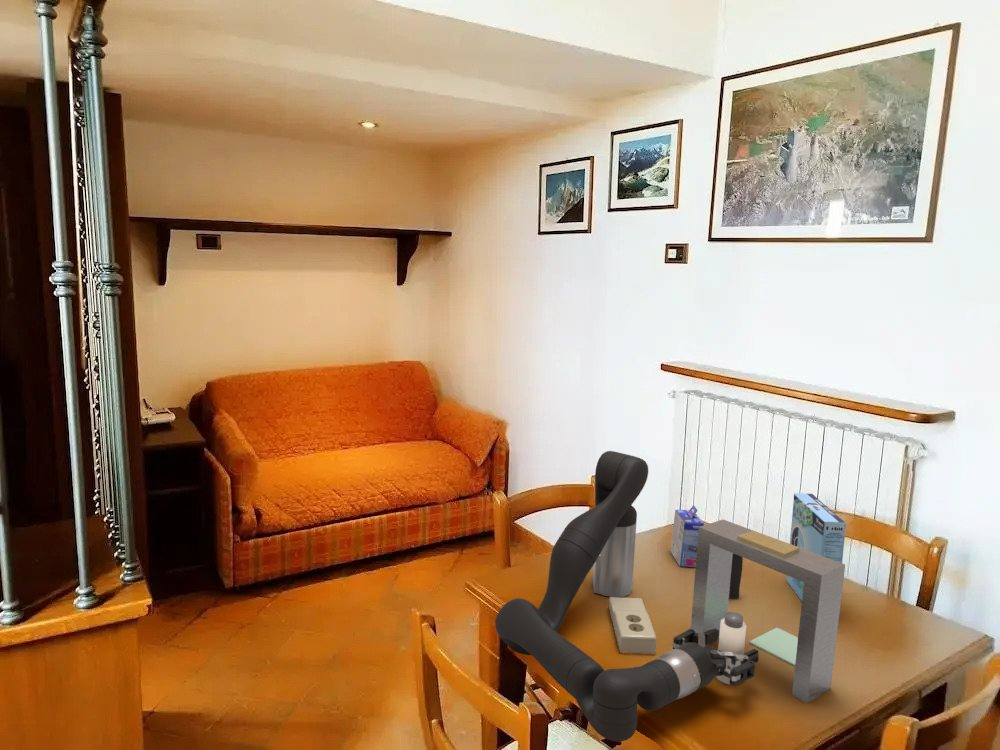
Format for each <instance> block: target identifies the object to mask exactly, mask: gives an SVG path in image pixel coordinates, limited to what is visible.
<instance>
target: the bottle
mask: <svg viewBox="0 0 1000 750" xmlns="http://www.w3.org/2000/svg"><path fill="white" fill-rule="evenodd" d="M746 633H747V624H746V622H744V616H743V615H742V614H740V613H738V612H734V611H728V612H727V613H726V614H725V618H723V619H721V622H720V633H719V637H718V646H717V650H720V651H722V652H733V653H734V654H735V655H743V654H744V653H745V645H746ZM729 659H730V658H726V667H727V666H728V665H729ZM740 664H741V661H736V664H735V665H740ZM715 678H716V679H717V680H718V681H720V682H722V683H723V684H726V685H731V684H730V683H729V681H730V679H729V678H727V677H726V676H724V675H723V676H716V677H715ZM731 686H732V685H731Z"/></svg>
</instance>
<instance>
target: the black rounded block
mask: <svg viewBox="0 0 1000 750" xmlns="http://www.w3.org/2000/svg"><path fill="white" fill-rule="evenodd" d="M743 558H744V557H741V556H739V555H736V554H734V553H733V556H732V567H731V579H730V590H729V599H739V597H740V587H741V581H742V572H743V560H744V559H743Z"/></svg>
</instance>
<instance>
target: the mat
mask: <svg viewBox="0 0 1000 750" xmlns="http://www.w3.org/2000/svg"><path fill="white" fill-rule="evenodd" d="M748 643H749V644H751V645H752V646H754V647H756V648H758V649H760V650H762V651H763V652H765V653H767V654H769V655H771V656H773V657H775V658H777V659H779V660H780V661H783V662H785V663H787V664H789V665H790V666H793V667H795V662H796V653H797V644H798V637H797V636H796V635H793V634H792V633H790V632H787V631H786V630H784V629H781V628H779V627H775V628H773V629H771V630H770V631H767V632H765V633H763V634H761V635H759V636H757V637H755V638H753V639H751V640H749V642H748Z"/></svg>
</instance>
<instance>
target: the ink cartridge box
mask: <svg viewBox="0 0 1000 750" xmlns="http://www.w3.org/2000/svg"><path fill="white" fill-rule="evenodd" d="M674 510H675V511H674V518H673V528H672V535H671V544H670V545H671V546H670V553H671V554H672V556H673V557H674V559H675V561H676V562H677V564H678V566H679V567H686V568H696V556H697V544H698V531H699V527H701V526H704V525H705V523H704V522H703V521H702V519H701V518H700V516H699V515H698V514H697V512H698V508H696V506H695V505H692V506H691V507H690V509H674Z"/></svg>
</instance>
